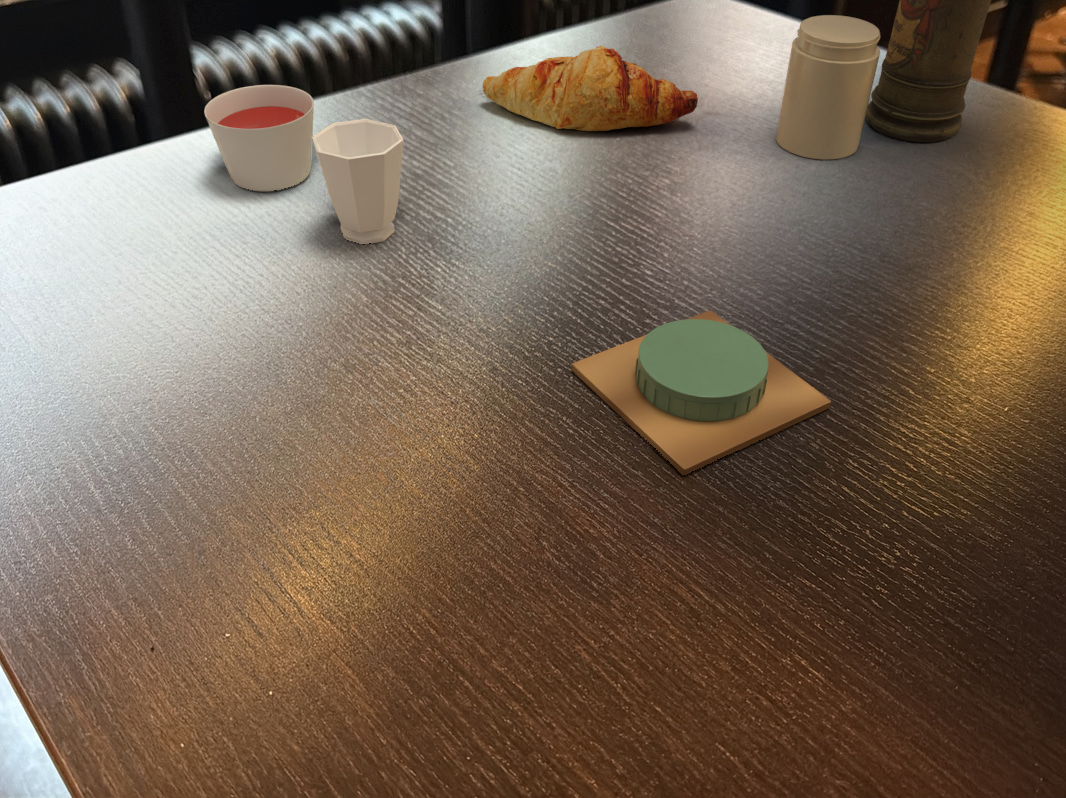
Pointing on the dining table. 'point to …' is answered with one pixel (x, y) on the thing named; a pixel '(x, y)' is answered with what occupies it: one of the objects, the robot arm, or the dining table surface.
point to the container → (927, 69)
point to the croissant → (589, 93)
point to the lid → (701, 370)
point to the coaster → (689, 438)
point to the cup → (362, 176)
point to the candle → (263, 135)
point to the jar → (828, 86)
